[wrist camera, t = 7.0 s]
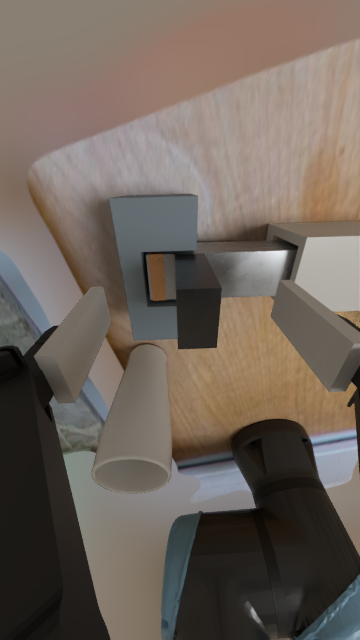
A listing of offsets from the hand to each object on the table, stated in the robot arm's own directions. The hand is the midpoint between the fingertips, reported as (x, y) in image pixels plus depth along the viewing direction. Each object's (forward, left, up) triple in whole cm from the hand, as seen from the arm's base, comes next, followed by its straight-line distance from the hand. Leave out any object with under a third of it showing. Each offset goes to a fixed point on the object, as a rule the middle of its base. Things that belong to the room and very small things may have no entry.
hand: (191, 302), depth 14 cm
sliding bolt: (0, -6, -9) cm, 10 cm away
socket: (0, +2, -11) cm, 11 cm away
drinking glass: (-14, +5, -11) cm, 18 cm away
